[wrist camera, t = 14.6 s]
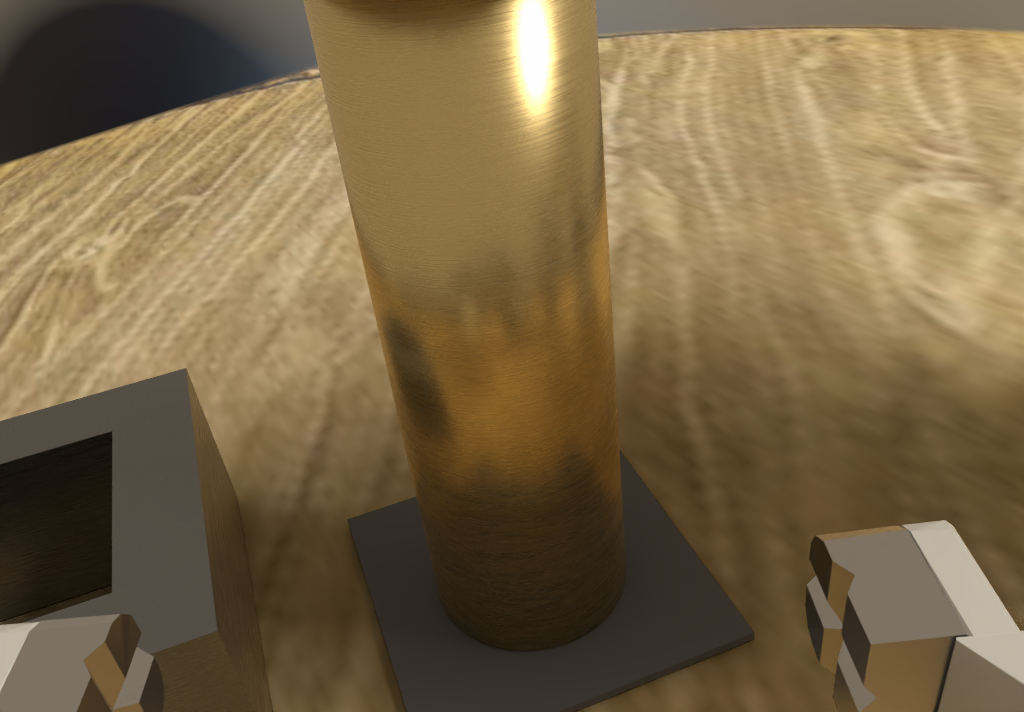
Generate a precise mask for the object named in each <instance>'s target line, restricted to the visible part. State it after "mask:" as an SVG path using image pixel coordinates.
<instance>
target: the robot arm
mask: <svg viewBox="0 0 1024 712" xmlns="http://www.w3.org/2000/svg"><path fill="white" fill-rule="evenodd" d="M809 559H810V561H811V564H812V566H813V568H814V571H815V573H816V576H815V577H814V578H813V579H812V580H811V581H810V582H809V583H808V584H807V588H806V604H805V605H806V614H807V622H808V629H809V632H810V636H811V640H812V643H813V647H814V649H815V652H816V655H817V657H818V660H819V663H820V664H821V665H822V666H823V667H825V668H826V669H827V670H829V671H830V672H831V673H833V674H834V675H835V684H834V692H833V699H834V701H835V704H836V706H837V709H838V711H839V712H1024V630H1023V631H1020V630H1019V628H1018V627H1017V625H1016V623H1015V622H1014V620H1013V619H1012V617H1011V616H1010V614H1009V613H1008V611H1007V609H1006V608H1005V606H1004V605H1003V603H1002V602H1001V600H1000V598H999V597H998V595H997V594H996V592H995V591H994V589H993V587H992V586H991V584H990V583H989V581H988V580H987V578H986V576H985V575H984V573H983V572H982V570H981V569H980V567H979V565H978V564H977V562H976V561H975V559H974V558H973V556H972V554H971V553H970V551H969V550H968V548H967V547H966V545H965V543H964V542H963V540H962V539H961V537H960V536H959V534H958V532H957V531H956V529H955V528H954V526H953V525H951V524H950V523H948V522H947V521H946V520H942V521H933V522H924V523H916V524H907V525H901V526H897V525H896V526H888V527H880V528H872V529H863V530H855V531H847V532H839V533H831V534H823V535H815V537H814V539H813V541H812V543H811V549H810V558H809ZM140 636H141V631H140V629H139V627H138V626H137V624H136V622H135V621H134V619H133V617H132V615H129V614H114V615H103V616H91V617H79V618H68V619H56V620H44V621H39V622H28V623H17V624H6V625H0V712H163V704H164V684H163V679H162V675H161V670H160V668H159V666H158V664H157V662H156V660H155V658H154V657H153V656H152V655H150V654H148V653H146V652H145V651H143V650H141V649H140V648H138V647H137V644H138V641H139V639H140Z"/></svg>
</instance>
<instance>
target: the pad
mask: <svg viewBox="0 0 1024 712" xmlns="http://www.w3.org/2000/svg"><path fill="white" fill-rule="evenodd" d="M620 469H621V488H622V507H623V526H624V544H625V563H626V579H625V585H624V589H623V592H622V595H621V597H620V599H619V601H618V603H617V605H616V607H615V608H614V609H613V611H612V612H611V613H610V615H609V616H608V617H607V618H606V619H605V620H604V621H603V622H602V623H601V624H600V625H599V626H597V627H596V628H595V629H593V630H592V631H591V632H589V633H587V634H586V635H584V636H582V637H581V638H579V639H577V640H574V641H572V642H570V643H567V644H564V645H561V646H558V647H555V648H550V649H545V650H537V651H512V650H505V649H500V648H496V647H492V646H489V645H486V644H484V643H481V642H479V641H477V640H475V639H473V638H471V637H469V636H468V635H467V634H465V633H464V632H462V631H461V630H460V629H459V628H458V627H457V626H456V625H455V624H454V623H453V622H452V621H451V620H450V618H449V617H448V616H447V614H446V612H445V610H444V608H443V606H442V604H441V601H440V598H439V594H438V589H437V585H436V581H435V576H434V572H433V568H432V563H431V559H430V554H429V550H428V546H427V541H426V537H425V532H424V528H423V524H422V519H421V515H420V510H419V506H418V502H417V497H414V498H411V499H408V500H405V501H402V502H399V503H396V504H393V505H390V506H387V507H384V508H381V509H378V510H375V511H372V512H369V513H366V514H363V515H360V516H357V517H354V518H351V519H348V523H349V526H350V529H351V533H352V536H353V539H354V542H355V546H356V549H357V552H358V555H359V559H360V562H361V565H362V568H363V572H364V575H365V578H366V581H367V585H368V588H369V591H370V594H371V597H372V601H373V604H374V607H375V610H376V614H377V617H378V620H379V623H380V627H381V630H382V633H383V636H384V640H385V643H386V646H387V649H388V652H389V656H390V659H391V662H392V665H393V669H394V672H395V675H396V678H397V682H398V685H399V688H400V691H401V695H402V698H403V701H404V704H405V708H406V711H407V712H575V711H578V710H580V709H583V708H585V707H588V706H590V705H593V704H595V703H598V702H600V701H602V700H605V699H607V698H610V697H612V696H615V695H617V694H620V693H622V692H625V691H627V690H630V689H632V688H635V687H637V686H639V685H642V684H644V683H647V682H649V681H652V680H654V679H657V678H659V677H662V676H664V675H667V674H669V673H672V672H674V671H677V670H679V669H681V668H684V667H686V666H689V665H691V664H694V663H696V662H699V661H701V660H704V659H706V658H709V657H711V656H714V655H716V654H719V653H721V652H723V651H726V650H728V649H731V648H733V647H736V646H738V645H741V644H743V643H746V642H748V641H751V640H753V639H754V632H753V630H752V629H751V628H750V626H749V625H748V623H747V622H746V621H745V619H744V618H743V617H742V615H741V614H740V613H739V611H738V610H737V609H736V607H735V606H734V604H733V603H732V602H731V600H730V599H729V598H728V596H727V595H726V594H725V592H724V591H723V590H722V588H721V587H720V585H719V584H718V583H717V581H716V580H715V579H714V577H713V576H712V575H711V573H710V572H709V571H708V569H707V568H706V566H705V565H704V564H703V562H702V561H701V560H700V558H699V557H698V556H697V554H696V553H695V552H694V550H693V549H692V547H691V546H690V545H689V543H688V542H687V541H686V539H685V538H684V537H683V535H682V534H681V533H680V531H679V530H678V528H677V527H676V526H675V524H674V523H673V522H672V520H671V519H670V518H669V516H668V515H667V514H666V512H665V511H664V509H663V508H662V507H661V505H660V504H659V503H658V501H657V500H656V499H655V497H654V496H653V495H652V493H651V492H650V490H649V489H648V488H647V486H646V485H645V484H644V482H643V481H642V480H641V478H640V477H639V476H638V474H637V473H636V472H635V470H634V469H633V467H632V466H631V465H630V463H629V462H628V461H627V459H626V458H625V457H624V455H623V454H622V453H621V451H620Z"/></svg>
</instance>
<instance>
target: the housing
mask: <svg viewBox="0 0 1024 712" xmlns="http://www.w3.org/2000/svg"><path fill="white" fill-rule="evenodd" d="M111 584H112V593H110V594H107V595H104V596H101V597H98V598H95V599H92V600H89V601H86V602H83V603H80V604H77V605H74V606H71V607H68V608H65V609H62V610H59V611H56V612H53V613H50V614H47V615H44V616H41V617H38V618H35V619H32V620H29V621H26V622H23V623H28V622H39V621H44V620H56V619H68V618H79V617H91V616H103V615H114V614H129V615H132V617H133V619H134V621H135V622H136V624H137V626H138V627H139V629H140V631H141V636H140V639H139V641H138V644H137V647H138V648H140V649H141V650H143V651H145V652H146V653H148V654H150V655H152V656H153V657H154V658H155V660H156V662H157V664H158V666H159V668H160V670H161V675H162V679H163V684H164V704H163V712H273V709H272V703H271V697H270V691H269V685H268V679H267V673H266V667H265V661H264V655H263V649H262V643H261V637H260V631H259V625H258V619H257V613H256V607H255V601H254V595H253V589H252V583H251V577H250V571H249V565H248V559H247V554H246V548H245V542H244V536H243V530H242V524H241V518H240V512H239V506H238V500H237V496H236V493H235V491H234V488H233V486H232V483H231V481H230V478H229V476H228V473H227V471H226V468H225V466H224V463H223V460H222V458H221V455H220V453H219V450H218V448H217V445H216V443H215V440H214V438H213V435H212V433H211V430H210V428H209V425H208V422H207V420H206V417H205V415H204V412H203V410H202V407H201V405H200V402H199V400H198V397H197V395H196V392H195V390H194V387H193V384H192V382H191V379H190V377H189V374H188V372H187V369H186V368H185V369H182V370H178V371H175V372H171V373H168V374H164V375H161V376H157V377H154V378H150V379H146V380H143V381H139V382H136V383H132V384H129V385H125V386H122V387H118V388H115V389H111V390H108V391H104V392H101V393H97V394H94V395H90V396H87V397H83V398H80V399H76V400H73V401H69V402H66V403H62V404H59V405H55V406H52V407H48V408H45V409H41V410H38V411H34V412H31V413H27V414H24V415H20V416H17V417H13V418H10V419H6V420H3V421H0V621H3V620H6V619H9V618H12V617H15V616H18V615H21V614H24V613H27V612H30V611H33V610H36V609H39V608H42V607H45V606H48V605H51V604H54V603H57V602H60V601H63V600H66V599H69V598H72V597H75V596H78V595H81V594H84V593H87V592H90V591H93V590H96V589H99V588H102V587H105V586H108V585H111Z"/></svg>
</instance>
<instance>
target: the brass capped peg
mask: <svg viewBox="0 0 1024 712" xmlns="http://www.w3.org/2000/svg"><path fill="white" fill-rule="evenodd" d="M303 1H304V5H305V10H306V14H307V19H308V23H309V27H310V32H311V36H312V40H313V45H314V49H315V54H316V58H317V62H318V67H319V71H320V76H321V80H322V84H323V89H324V93H325V98H326V102H327V106H328V111H329V115H330V120H331V124H332V128H333V133H334V137H335V141H336V146H337V150H338V155H339V159H340V163H341V168H342V172H343V177H344V181H345V185H346V190H347V194H348V199H349V203H350V207H351V212H352V216H353V221H354V225H355V229H356V234H357V238H358V243H359V247H360V251H361V256H362V260H363V264H364V269H365V273H366V278H367V282H368V286H369V291H370V295H371V300H372V304H373V308H374V313H375V317H376V322H377V326H378V330H379V335H380V339H381V344H382V348H383V352H384V357H385V361H386V365H387V370H388V374H389V379H390V383H391V387H392V392H393V396H394V401H395V405H396V409H397V414H398V418H399V423H400V427H401V431H402V436H403V440H404V445H405V449H406V453H407V458H408V462H409V467H410V471H411V475H412V480H413V484H414V488H415V493H416V497H417V502H418V506H419V510H420V515H421V519H422V524H423V528H424V532H425V537H426V541H427V546H428V550H429V554H430V559H431V563H432V568H433V572H434V576H435V581H436V585H437V589H438V594H439V598H440V601H441V604H442V606H443V608H444V610H445V612H446V614H447V616H448V617H449V618H450V620H451V621H452V622H453V623H454V624H455V625H456V626H457V627H458V628H459V629H460V630H461V631H462V632H464V633H465V634H467V635H468V636H469V637H471V638H473V639H475V640H477V641H479V642H481V643H484V644H486V645H489V646H492V647H496V648H500V649H505V650H512V651H537V650H545V649H550V648H555V647H558V646H561V645H564V644H567V643H570V642H572V641H574V640H577V639H579V638H581V637H582V636H584V635H586V634H587V633H589V632H591V631H592V630H593V629H595V628H596V627H597V626H599V625H600V624H601V623H602V622H603V621H604V620H605V619H606V618H607V617H608V616H609V615H610V613H611V612H612V611H613V609H614V608H615V607H616V605H617V603H618V601H619V599H620V597H621V595H622V592H623V589H624V585H625V579H626V563H625V544H624V526H623V507H622V488H621V469H620V450H619V431H618V413H617V394H616V375H615V356H614V337H613V318H612V300H611V281H610V262H609V243H608V224H607V205H606V187H605V168H604V149H603V130H602V111H601V92H600V74H599V55H598V36H597V18H596V0H303Z"/></svg>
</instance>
